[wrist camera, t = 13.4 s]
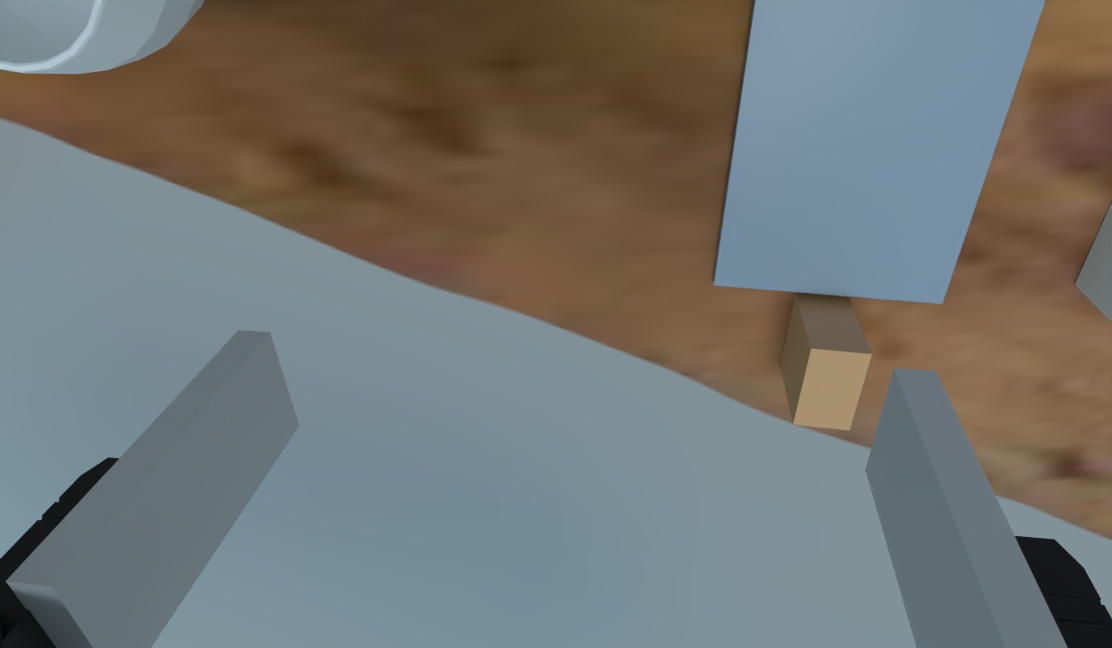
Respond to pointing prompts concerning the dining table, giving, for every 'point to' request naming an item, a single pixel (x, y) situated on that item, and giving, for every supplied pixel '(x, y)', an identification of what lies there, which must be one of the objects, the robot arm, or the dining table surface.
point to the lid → (861, 166)
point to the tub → (1099, 269)
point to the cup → (86, 32)
